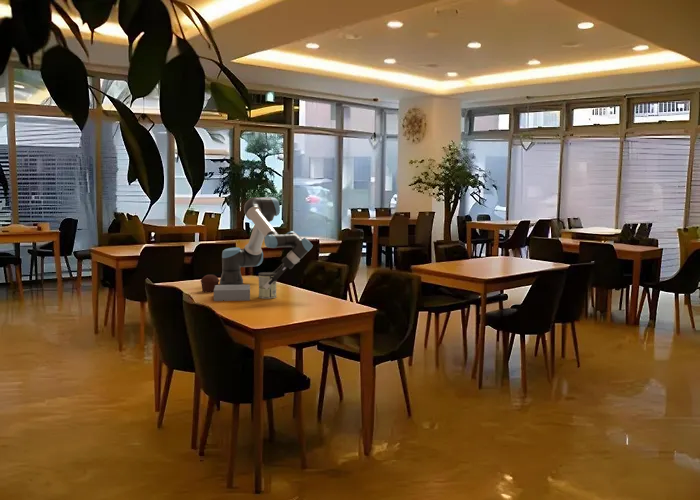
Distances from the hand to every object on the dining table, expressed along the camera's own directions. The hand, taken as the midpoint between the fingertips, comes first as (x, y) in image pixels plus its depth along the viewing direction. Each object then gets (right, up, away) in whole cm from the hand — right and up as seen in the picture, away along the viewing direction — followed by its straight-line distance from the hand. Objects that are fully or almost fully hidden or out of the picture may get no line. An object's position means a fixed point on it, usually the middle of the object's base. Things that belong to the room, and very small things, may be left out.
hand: (264, 286), depth 384 cm
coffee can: (+2, -7, +1) cm, 7 cm away
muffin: (-36, -4, +21) cm, 41 cm away
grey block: (-18, -6, -2) cm, 19 cm away
